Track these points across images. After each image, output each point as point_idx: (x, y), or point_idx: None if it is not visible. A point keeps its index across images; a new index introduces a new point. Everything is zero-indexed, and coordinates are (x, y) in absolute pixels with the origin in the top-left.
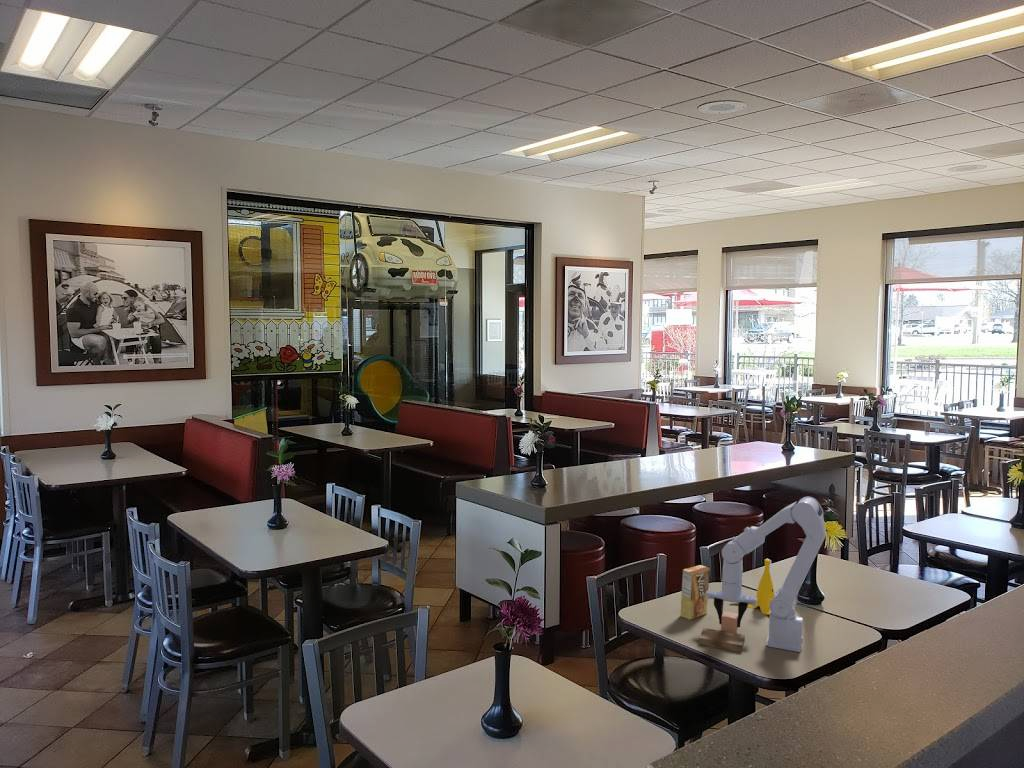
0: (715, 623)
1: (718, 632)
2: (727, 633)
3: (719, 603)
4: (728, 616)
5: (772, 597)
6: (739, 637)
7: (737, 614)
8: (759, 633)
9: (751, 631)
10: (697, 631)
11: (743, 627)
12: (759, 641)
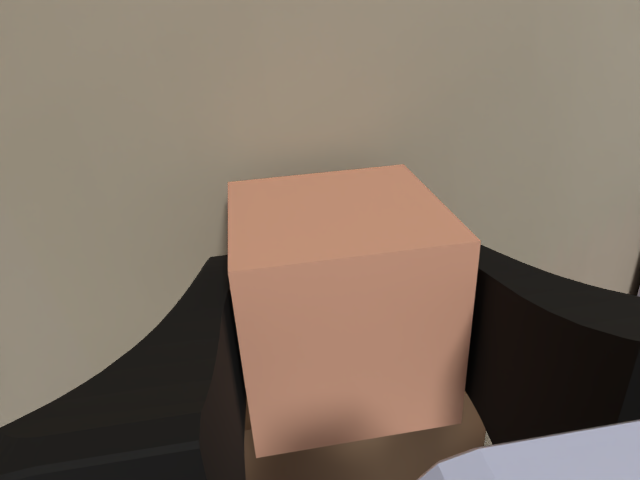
0: (99, 56)
1: (258, 467)
2: (339, 445)
3: None
4: (343, 416)
5: None
6: (445, 456)
7: (461, 282)
8: (607, 95)
9: (531, 84)
10: (27, 378)
11: (446, 3)
12: (582, 281)
